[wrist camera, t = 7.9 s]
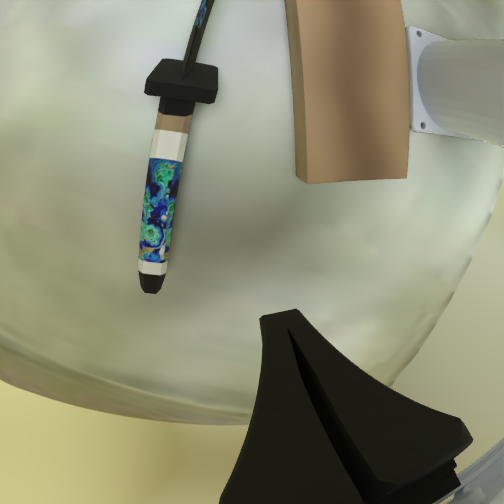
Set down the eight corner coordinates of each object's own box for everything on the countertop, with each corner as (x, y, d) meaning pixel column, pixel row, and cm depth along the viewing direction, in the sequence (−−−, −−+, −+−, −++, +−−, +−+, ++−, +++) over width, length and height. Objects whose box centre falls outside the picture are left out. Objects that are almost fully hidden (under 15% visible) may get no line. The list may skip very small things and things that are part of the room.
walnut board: (366, -70, 8) (379, -80, 6) (389, 170, 18) (406, 178, 16) (271, -89, 7) (279, -103, 6) (296, 175, 17) (307, 184, 16)
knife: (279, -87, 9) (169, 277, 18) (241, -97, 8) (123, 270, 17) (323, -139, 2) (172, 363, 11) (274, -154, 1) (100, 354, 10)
